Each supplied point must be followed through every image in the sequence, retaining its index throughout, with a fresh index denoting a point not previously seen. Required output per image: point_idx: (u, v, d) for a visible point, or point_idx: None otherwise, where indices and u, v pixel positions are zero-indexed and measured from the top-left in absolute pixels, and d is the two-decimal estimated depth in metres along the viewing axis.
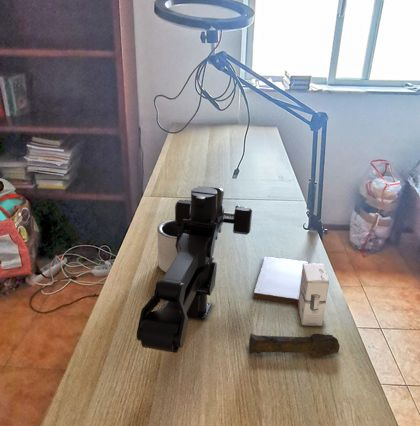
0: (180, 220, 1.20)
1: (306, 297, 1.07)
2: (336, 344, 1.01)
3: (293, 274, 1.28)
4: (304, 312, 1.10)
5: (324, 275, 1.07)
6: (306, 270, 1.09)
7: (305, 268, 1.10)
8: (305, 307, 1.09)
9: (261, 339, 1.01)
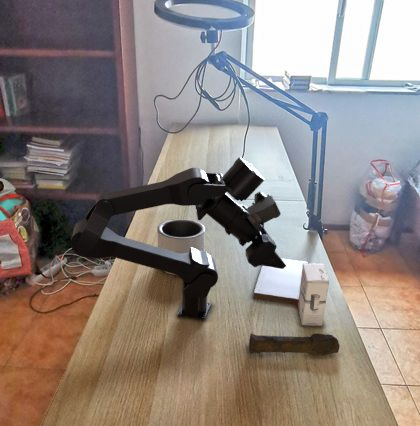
0: None
1: (306, 297, 1.07)
2: (336, 344, 1.02)
3: (293, 274, 1.28)
4: (304, 312, 1.10)
5: (324, 275, 1.07)
6: (305, 270, 1.09)
7: (305, 268, 1.10)
8: (305, 307, 1.09)
9: (261, 339, 1.01)
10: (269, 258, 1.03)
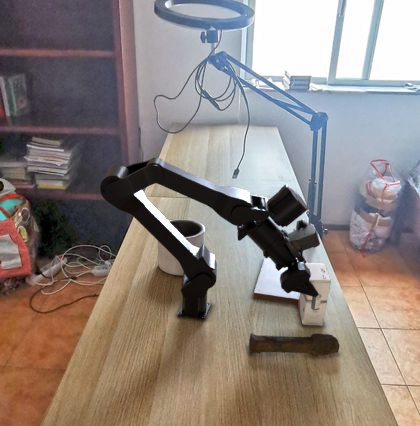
0: None
1: (307, 296, 1.07)
2: (336, 344, 1.02)
3: None
4: (305, 311, 1.10)
5: (326, 275, 1.07)
6: None
7: None
8: (306, 306, 1.09)
9: (261, 339, 1.01)
10: (303, 285, 1.04)
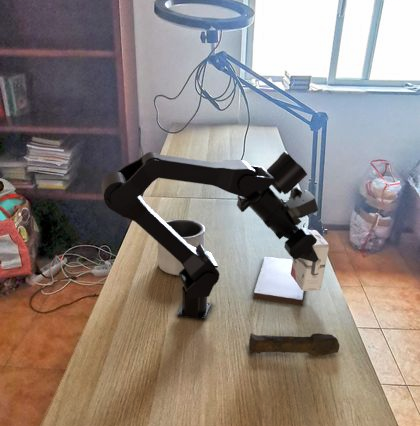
0: None
1: (308, 262, 1.10)
2: (336, 344, 1.02)
3: None
4: (305, 278, 1.12)
5: (322, 240, 1.10)
6: None
7: None
8: (306, 272, 1.11)
9: (261, 339, 1.01)
10: (305, 251, 1.06)
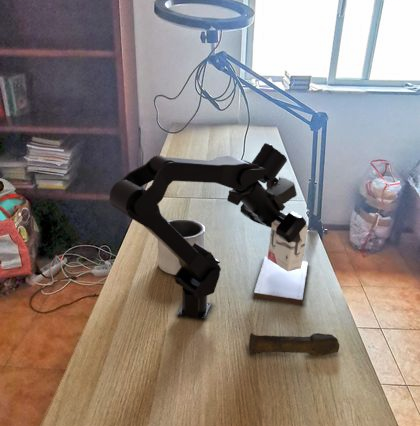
0: None
1: (292, 244, 1.18)
2: (336, 344, 1.02)
3: (293, 274, 1.28)
4: (289, 258, 1.20)
5: None
6: None
7: None
8: (290, 253, 1.20)
9: (261, 339, 1.01)
10: None
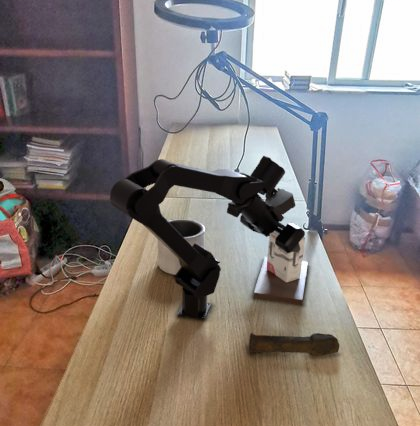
0: None
1: (289, 256, 1.20)
2: (336, 344, 1.02)
3: None
4: (288, 270, 1.22)
5: None
6: None
7: None
8: (289, 265, 1.21)
9: (261, 339, 1.01)
10: None
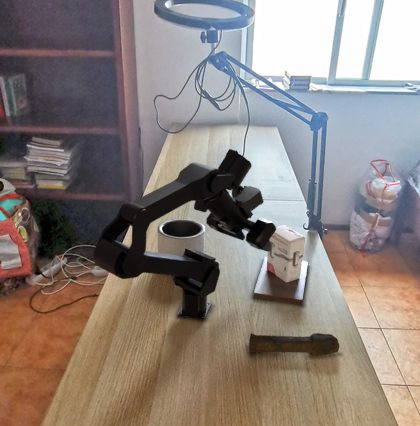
0: (211, 215, 1.16)
1: (289, 256, 1.20)
2: (336, 343, 1.02)
3: None
4: (288, 270, 1.22)
5: (296, 233, 1.21)
6: (278, 233, 1.21)
7: (276, 232, 1.21)
8: (289, 265, 1.21)
9: (261, 339, 1.01)
10: None
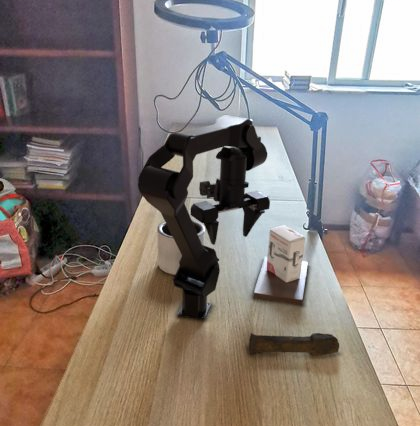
0: (204, 207, 1.07)
1: (289, 256, 1.20)
2: (336, 343, 1.02)
3: None
4: (288, 270, 1.22)
5: (296, 233, 1.21)
6: (278, 233, 1.21)
7: (276, 232, 1.21)
8: (289, 265, 1.21)
9: (261, 339, 1.01)
10: None
